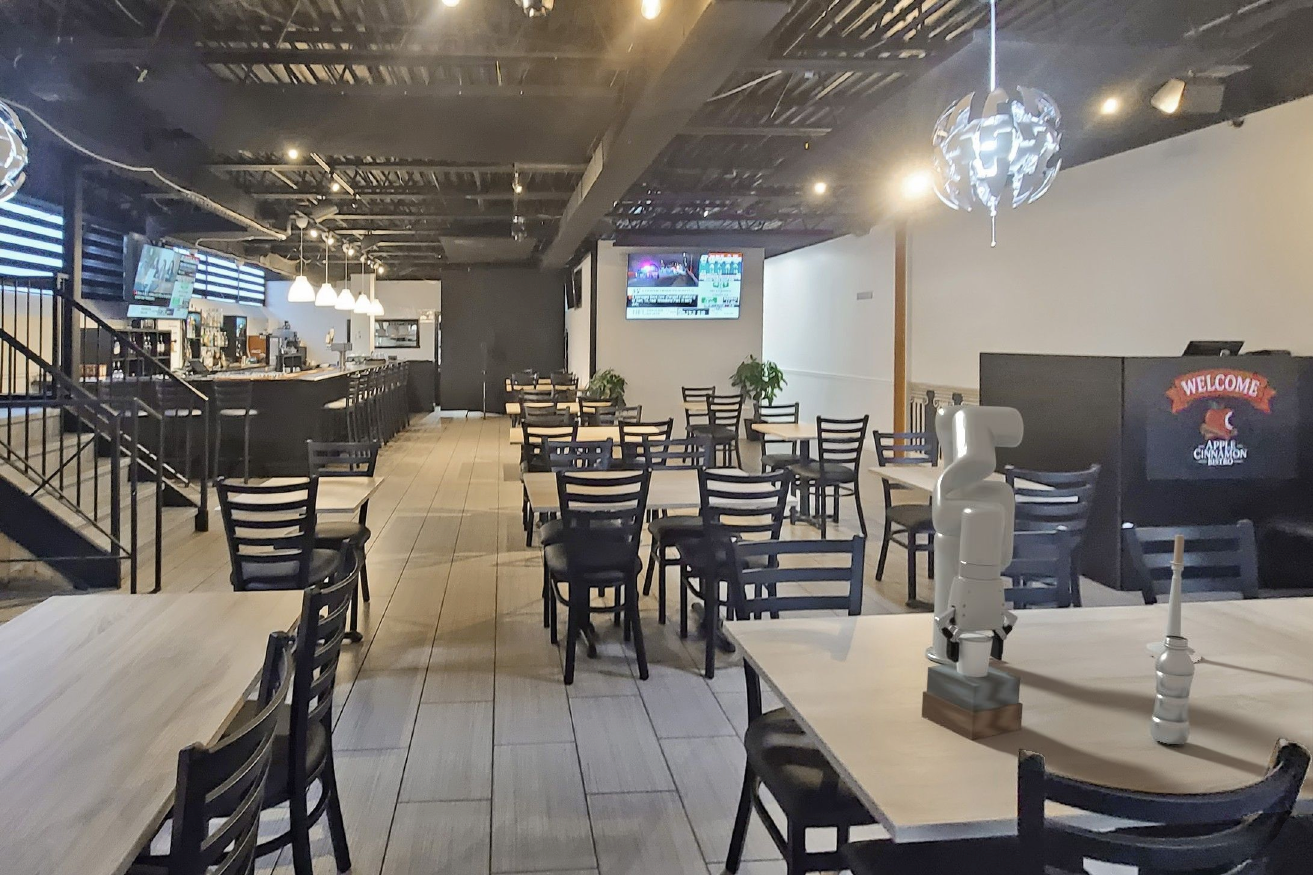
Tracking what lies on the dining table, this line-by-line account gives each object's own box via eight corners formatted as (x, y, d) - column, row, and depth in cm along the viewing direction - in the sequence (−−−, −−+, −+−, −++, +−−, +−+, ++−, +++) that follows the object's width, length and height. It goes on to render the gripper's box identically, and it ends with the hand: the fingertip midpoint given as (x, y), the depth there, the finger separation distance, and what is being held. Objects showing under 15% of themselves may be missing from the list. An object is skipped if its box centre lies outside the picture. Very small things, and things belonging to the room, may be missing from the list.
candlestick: (1144, 658, 234) (1153, 535, 232) (1139, 644, 246) (1148, 526, 244) (1204, 665, 230) (1214, 540, 227) (1197, 651, 241) (1206, 531, 239)
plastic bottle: (1141, 735, 185) (1148, 632, 183) (1175, 735, 185) (1183, 632, 184) (1161, 749, 178) (1169, 642, 177) (1196, 749, 179) (1205, 642, 177)
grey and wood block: (970, 706, 198) (972, 658, 197) (1021, 729, 186) (1024, 678, 186) (921, 716, 192) (924, 666, 191) (971, 740, 180) (974, 687, 179)
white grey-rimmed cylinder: (993, 679, 184) (995, 643, 184) (955, 676, 186) (957, 640, 185) (988, 668, 191) (990, 633, 190) (952, 665, 192) (953, 630, 192)
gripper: (1008, 565, 192) (1003, 651, 194) (928, 567, 188) (923, 655, 190) (1031, 574, 185) (1025, 663, 186) (948, 576, 181) (943, 667, 182)
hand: (974, 659), depth 188 cm, fingers open, 8 cm apart
